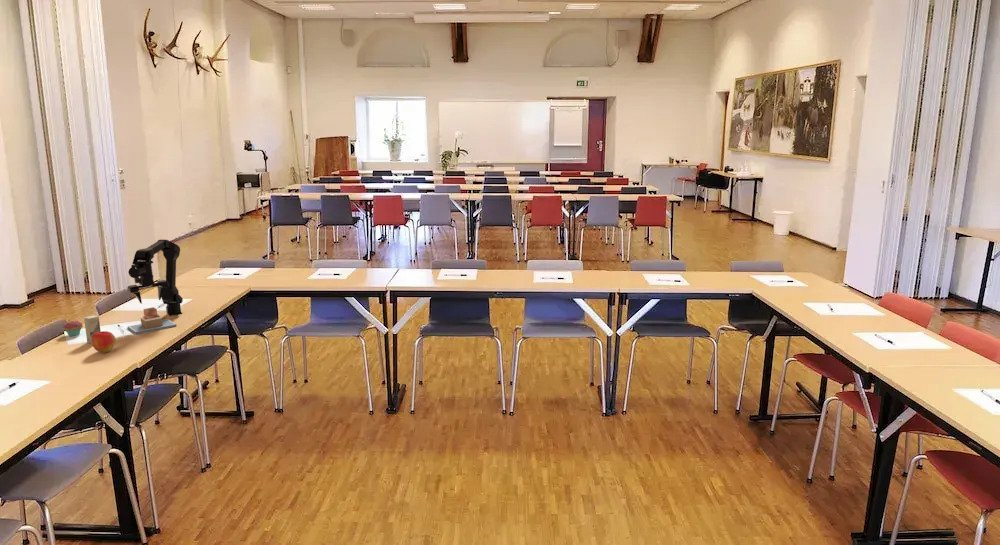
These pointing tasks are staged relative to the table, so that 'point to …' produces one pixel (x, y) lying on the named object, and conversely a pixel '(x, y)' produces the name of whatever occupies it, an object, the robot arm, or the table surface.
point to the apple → (103, 341)
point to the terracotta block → (150, 313)
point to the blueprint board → (139, 328)
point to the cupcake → (72, 327)
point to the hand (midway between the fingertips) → (150, 301)
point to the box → (91, 327)
